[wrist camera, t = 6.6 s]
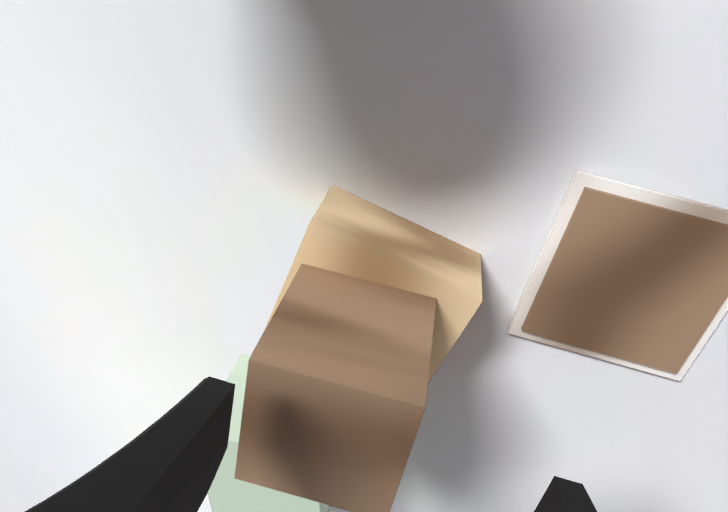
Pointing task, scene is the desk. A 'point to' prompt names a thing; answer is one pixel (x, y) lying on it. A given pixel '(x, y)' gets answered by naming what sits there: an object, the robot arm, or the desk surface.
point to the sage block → (239, 498)
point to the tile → (628, 277)
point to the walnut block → (337, 391)
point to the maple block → (394, 261)
